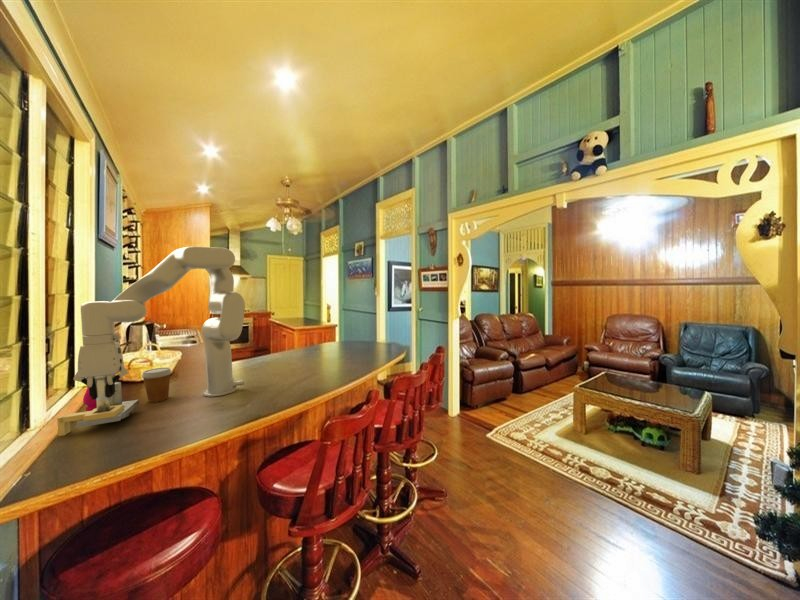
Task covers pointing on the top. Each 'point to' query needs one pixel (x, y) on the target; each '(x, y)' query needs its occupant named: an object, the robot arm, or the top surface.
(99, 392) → the steel pin
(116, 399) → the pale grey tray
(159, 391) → the disposable coffee cup
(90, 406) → the pepper mill
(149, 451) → the top surface
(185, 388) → the top surface
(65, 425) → the bracket
